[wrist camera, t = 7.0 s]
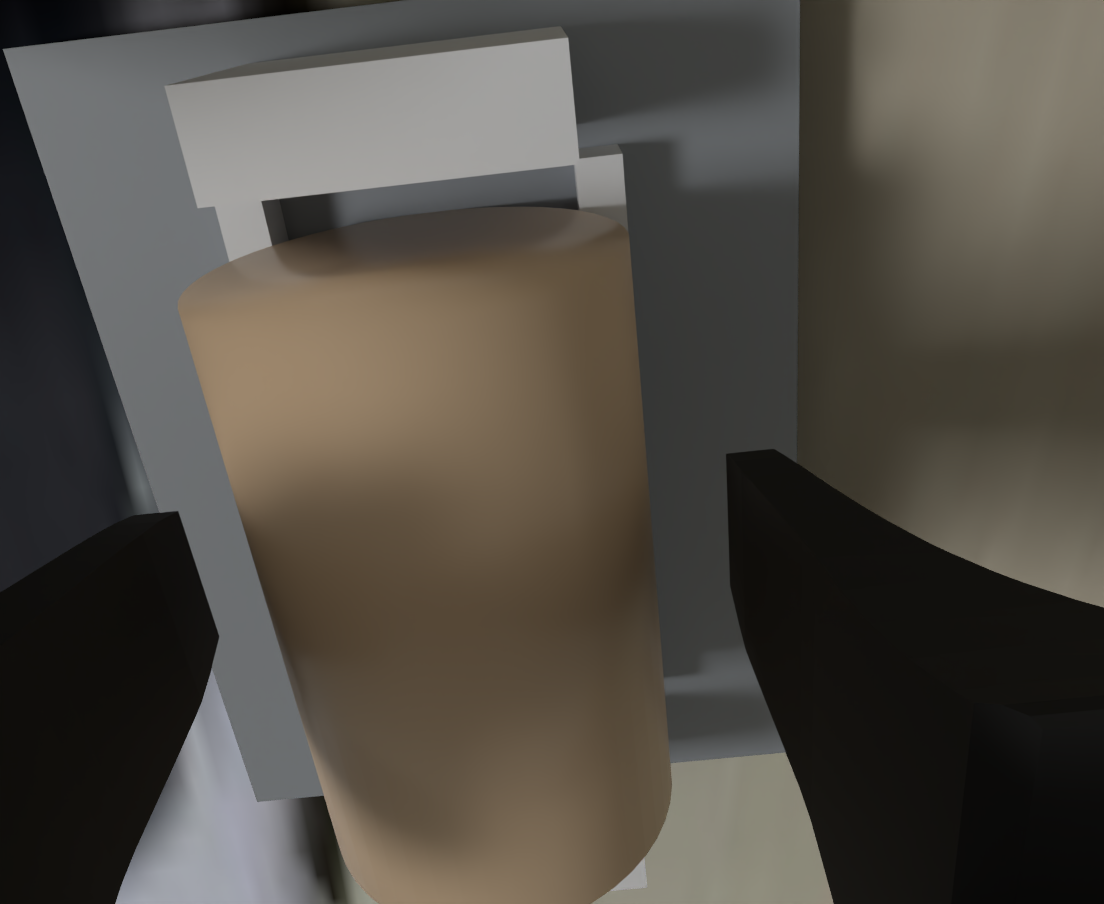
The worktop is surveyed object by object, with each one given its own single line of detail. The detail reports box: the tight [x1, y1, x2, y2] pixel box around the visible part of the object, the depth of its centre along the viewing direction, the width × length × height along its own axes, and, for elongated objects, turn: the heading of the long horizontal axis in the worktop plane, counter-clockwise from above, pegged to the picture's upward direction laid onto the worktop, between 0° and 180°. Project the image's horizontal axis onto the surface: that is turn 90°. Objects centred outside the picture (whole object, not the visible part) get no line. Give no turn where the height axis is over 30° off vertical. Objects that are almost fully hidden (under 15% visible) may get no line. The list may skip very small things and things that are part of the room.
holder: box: [3, 0, 800, 891], centre depth 14 cm, size 10×13×4 cm
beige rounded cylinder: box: [178, 207, 672, 904], centre depth 12 cm, size 5×8×5 cm, turn 6°
